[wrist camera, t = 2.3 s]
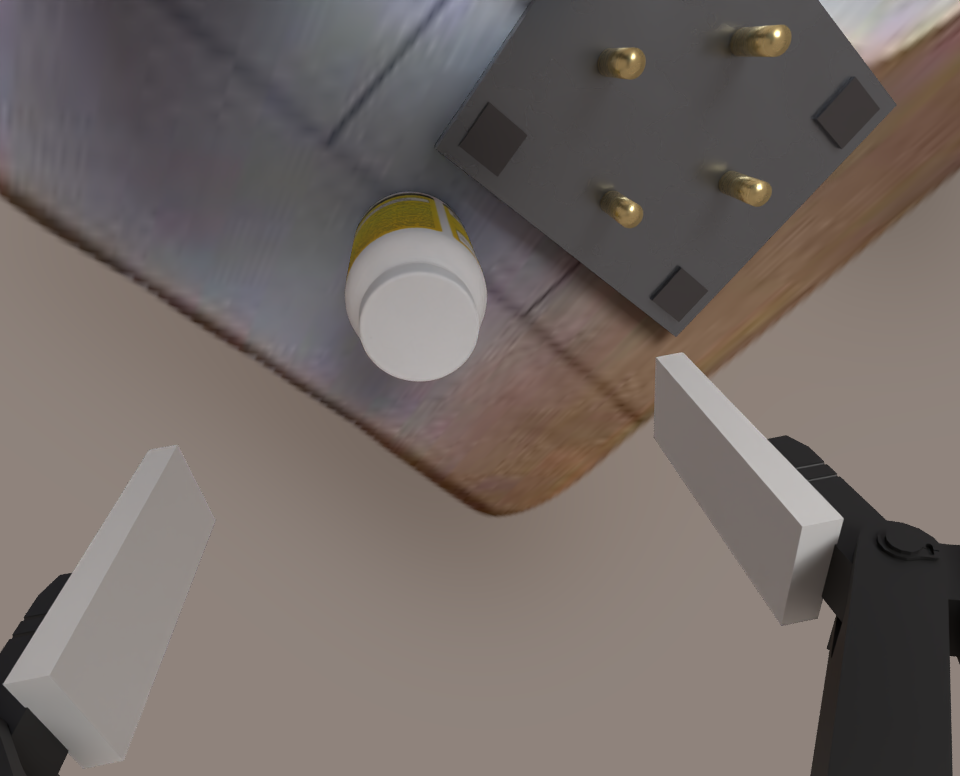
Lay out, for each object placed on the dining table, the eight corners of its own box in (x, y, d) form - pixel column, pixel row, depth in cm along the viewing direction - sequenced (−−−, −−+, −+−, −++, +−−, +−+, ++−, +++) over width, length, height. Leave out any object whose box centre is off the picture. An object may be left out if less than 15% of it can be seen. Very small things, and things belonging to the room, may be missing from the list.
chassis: (434, 145, 29) (439, 158, 26) (657, -188, 24) (704, -231, 20) (668, 328, 36) (698, 359, 33) (879, 103, 31) (943, 109, 27)
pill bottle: (336, 272, 32) (312, 365, 22) (382, 167, 29) (376, 221, 20) (437, 317, 34) (453, 419, 24) (487, 222, 31) (527, 294, 22)
